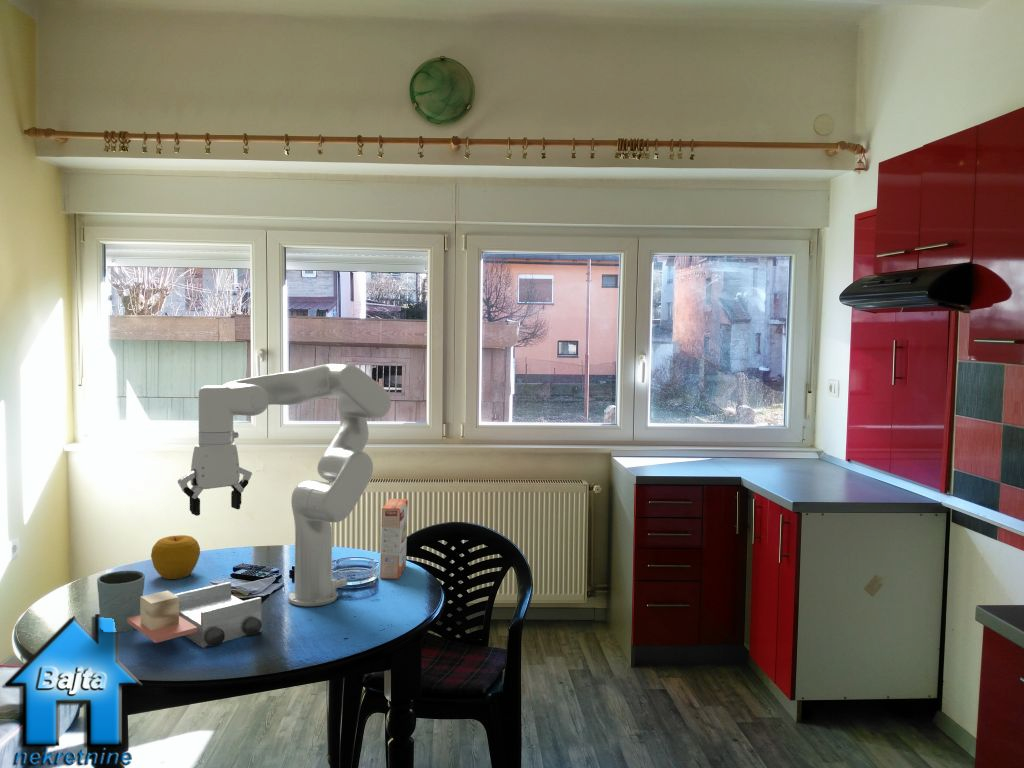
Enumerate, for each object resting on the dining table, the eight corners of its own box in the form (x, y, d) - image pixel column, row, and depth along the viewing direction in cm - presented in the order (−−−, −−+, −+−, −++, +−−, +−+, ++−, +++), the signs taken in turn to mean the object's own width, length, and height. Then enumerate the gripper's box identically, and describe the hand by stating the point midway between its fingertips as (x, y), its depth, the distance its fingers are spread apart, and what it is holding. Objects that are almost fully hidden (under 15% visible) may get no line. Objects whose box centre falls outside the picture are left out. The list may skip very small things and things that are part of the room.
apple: (142, 576, 216) (142, 537, 215) (184, 566, 227) (184, 528, 226) (167, 586, 209) (167, 545, 208) (209, 574, 219) (209, 535, 219)
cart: (226, 612, 190) (227, 580, 190) (263, 632, 178) (263, 599, 177) (170, 626, 180) (170, 593, 180) (205, 649, 168) (205, 614, 167)
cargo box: (167, 616, 173) (167, 590, 173) (179, 623, 169) (178, 597, 169) (140, 622, 169) (140, 596, 169) (151, 630, 165) (151, 603, 165)
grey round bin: (112, 617, 185) (112, 569, 184) (153, 619, 185) (153, 570, 184) (88, 633, 175) (87, 582, 174) (131, 635, 174) (130, 584, 174)
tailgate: (167, 608, 178) (126, 618, 172) (197, 627, 167) (155, 638, 161) (167, 614, 178) (127, 624, 172) (197, 633, 167) (155, 644, 161)
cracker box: (400, 580, 219) (401, 508, 218) (379, 579, 219) (380, 507, 218) (407, 565, 233) (408, 498, 232) (387, 565, 233) (388, 497, 232)
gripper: (243, 434, 185) (243, 503, 186) (171, 440, 173) (171, 514, 174) (258, 437, 180) (258, 508, 181) (185, 443, 167) (185, 520, 168)
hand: (216, 511), depth 177 cm, fingers open, 9 cm apart
